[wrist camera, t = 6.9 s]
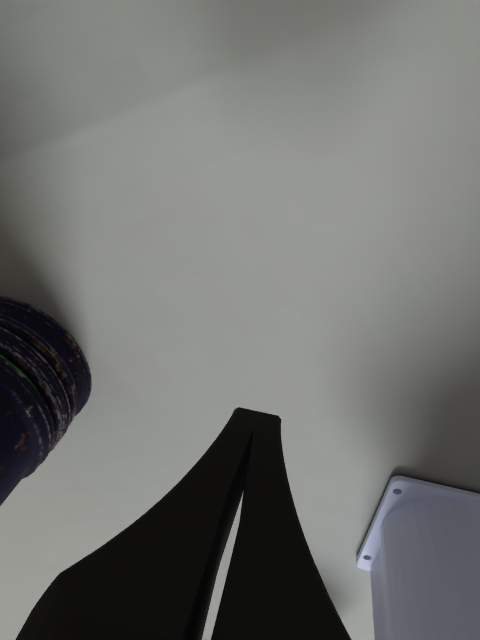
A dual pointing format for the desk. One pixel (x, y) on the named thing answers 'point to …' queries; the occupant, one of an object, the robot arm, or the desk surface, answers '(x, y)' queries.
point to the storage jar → (35, 388)
